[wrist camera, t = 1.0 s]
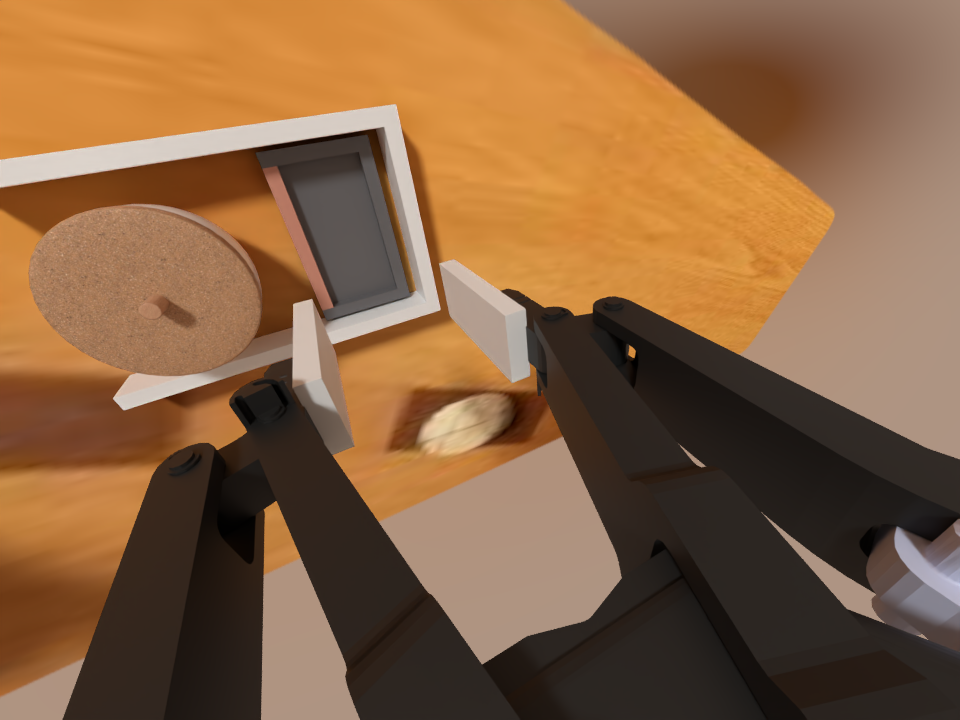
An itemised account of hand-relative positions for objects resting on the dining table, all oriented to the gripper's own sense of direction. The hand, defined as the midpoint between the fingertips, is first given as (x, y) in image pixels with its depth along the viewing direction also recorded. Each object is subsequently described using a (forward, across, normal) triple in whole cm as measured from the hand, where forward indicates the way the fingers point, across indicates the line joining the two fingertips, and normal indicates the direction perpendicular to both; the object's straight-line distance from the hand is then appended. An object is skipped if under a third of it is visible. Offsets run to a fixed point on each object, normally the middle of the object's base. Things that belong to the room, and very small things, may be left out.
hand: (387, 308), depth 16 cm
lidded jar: (+19, -12, 0) cm, 23 cm away
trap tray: (+19, 0, 0) cm, 19 cm away
